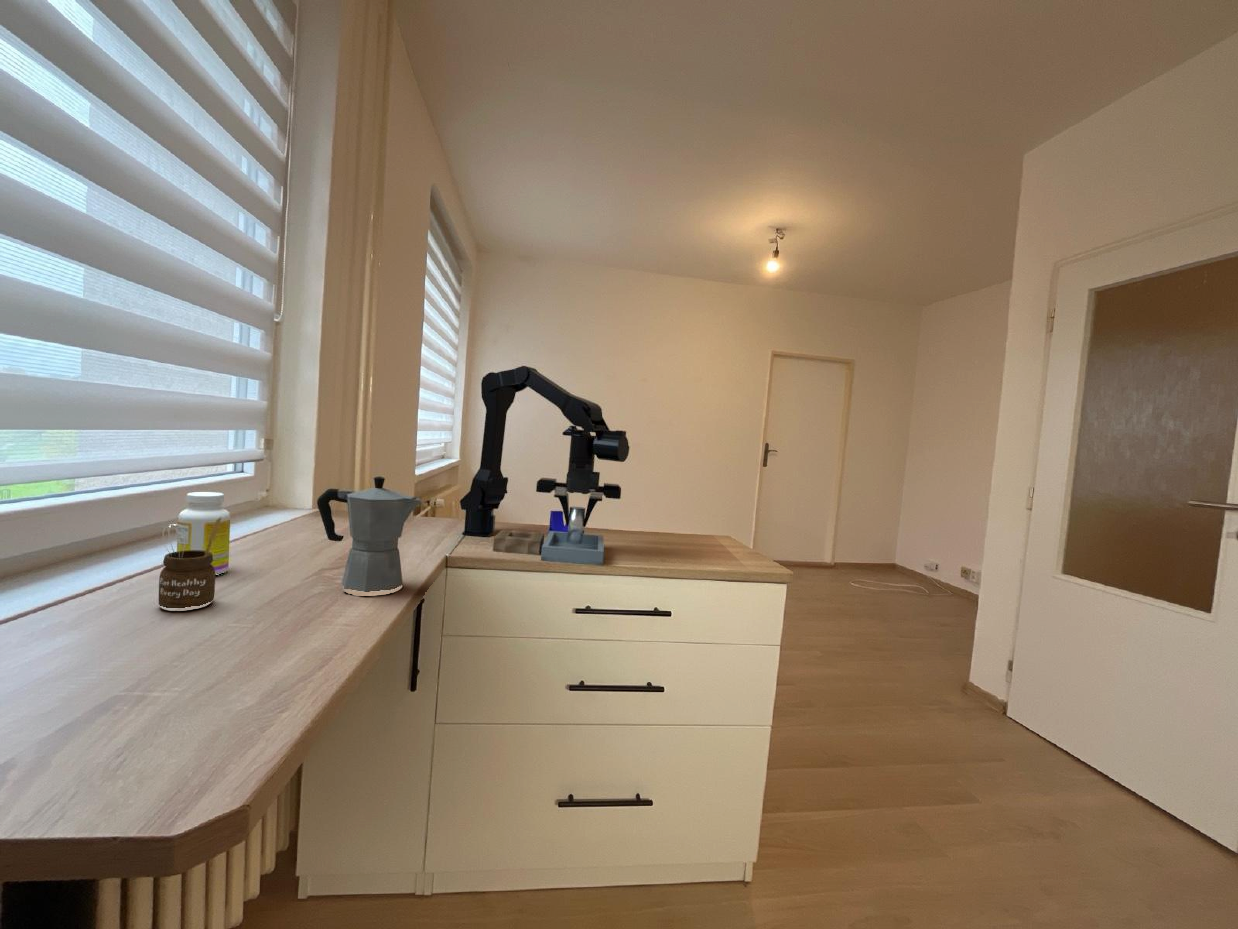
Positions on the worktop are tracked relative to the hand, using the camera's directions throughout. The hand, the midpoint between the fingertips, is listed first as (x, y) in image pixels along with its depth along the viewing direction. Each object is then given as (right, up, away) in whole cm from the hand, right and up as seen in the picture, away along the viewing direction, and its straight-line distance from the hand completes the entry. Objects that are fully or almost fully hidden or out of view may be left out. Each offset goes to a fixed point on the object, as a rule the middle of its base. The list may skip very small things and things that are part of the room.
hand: (575, 526), depth 124 cm
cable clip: (-4, -5, +19) cm, 20 cm away
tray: (-1, -6, 0) cm, 6 cm away
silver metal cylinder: (0, -4, 0) cm, 4 cm away
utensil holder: (-48, -5, -50) cm, 70 cm away
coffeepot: (-31, -6, -37) cm, 48 cm away
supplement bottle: (-57, -4, -37) cm, 68 cm away
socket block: (-13, -5, +1) cm, 14 cm away
